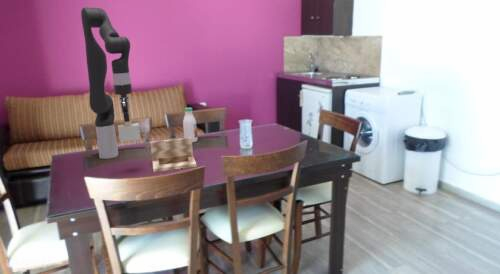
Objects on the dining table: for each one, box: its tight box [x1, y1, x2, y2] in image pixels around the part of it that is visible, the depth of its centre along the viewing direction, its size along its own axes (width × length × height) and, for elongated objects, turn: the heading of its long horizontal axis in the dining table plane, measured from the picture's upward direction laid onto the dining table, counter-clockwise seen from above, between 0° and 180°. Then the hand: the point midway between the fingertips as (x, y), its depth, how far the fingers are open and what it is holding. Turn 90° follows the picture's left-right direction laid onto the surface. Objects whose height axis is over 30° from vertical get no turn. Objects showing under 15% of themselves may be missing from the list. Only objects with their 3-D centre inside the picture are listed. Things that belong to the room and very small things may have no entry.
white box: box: [117, 111, 141, 143], centre depth 178 cm, size 9×5×13 cm, turn 105°
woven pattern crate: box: [149, 137, 197, 173], centre depth 187 cm, size 20×14×11 cm
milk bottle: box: [182, 106, 199, 144], centre depth 226 cm, size 8×8×20 cm
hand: (127, 120), depth 177 cm, fingers closed on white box
